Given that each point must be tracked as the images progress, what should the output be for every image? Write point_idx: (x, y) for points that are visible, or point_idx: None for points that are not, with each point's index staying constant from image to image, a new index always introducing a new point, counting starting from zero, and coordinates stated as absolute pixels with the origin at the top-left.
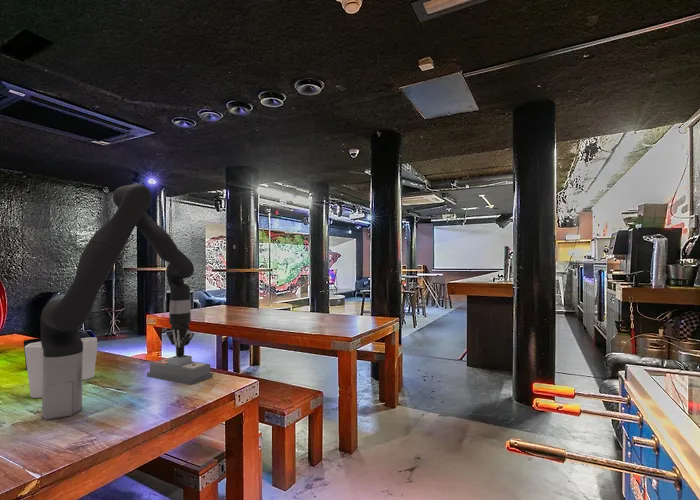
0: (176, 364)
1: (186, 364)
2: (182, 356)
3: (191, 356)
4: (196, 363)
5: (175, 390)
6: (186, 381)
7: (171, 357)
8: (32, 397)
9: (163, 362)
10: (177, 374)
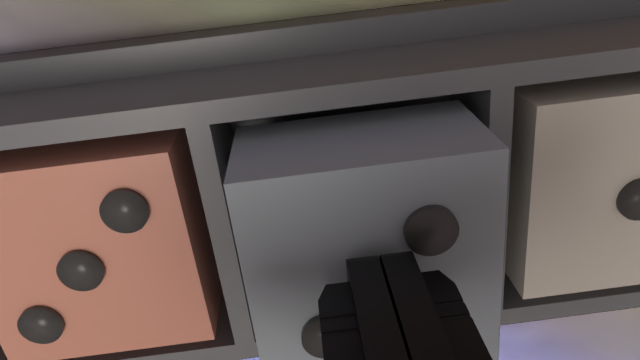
0: None
1: None
2: (383, 245)
3: (505, 150)
4: (614, 131)
5: (617, 349)
6: None
7: (278, 352)
8: None
9: (137, 321)
10: None
